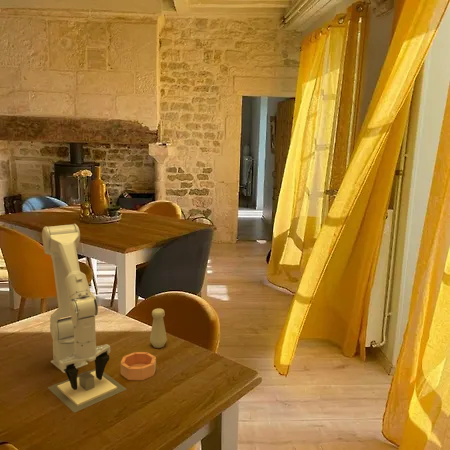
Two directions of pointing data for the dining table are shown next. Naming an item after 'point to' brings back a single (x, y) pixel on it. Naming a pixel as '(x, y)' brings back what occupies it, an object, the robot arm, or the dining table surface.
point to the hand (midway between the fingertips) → (86, 383)
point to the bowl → (138, 366)
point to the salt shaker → (158, 329)
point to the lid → (87, 388)
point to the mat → (76, 408)
